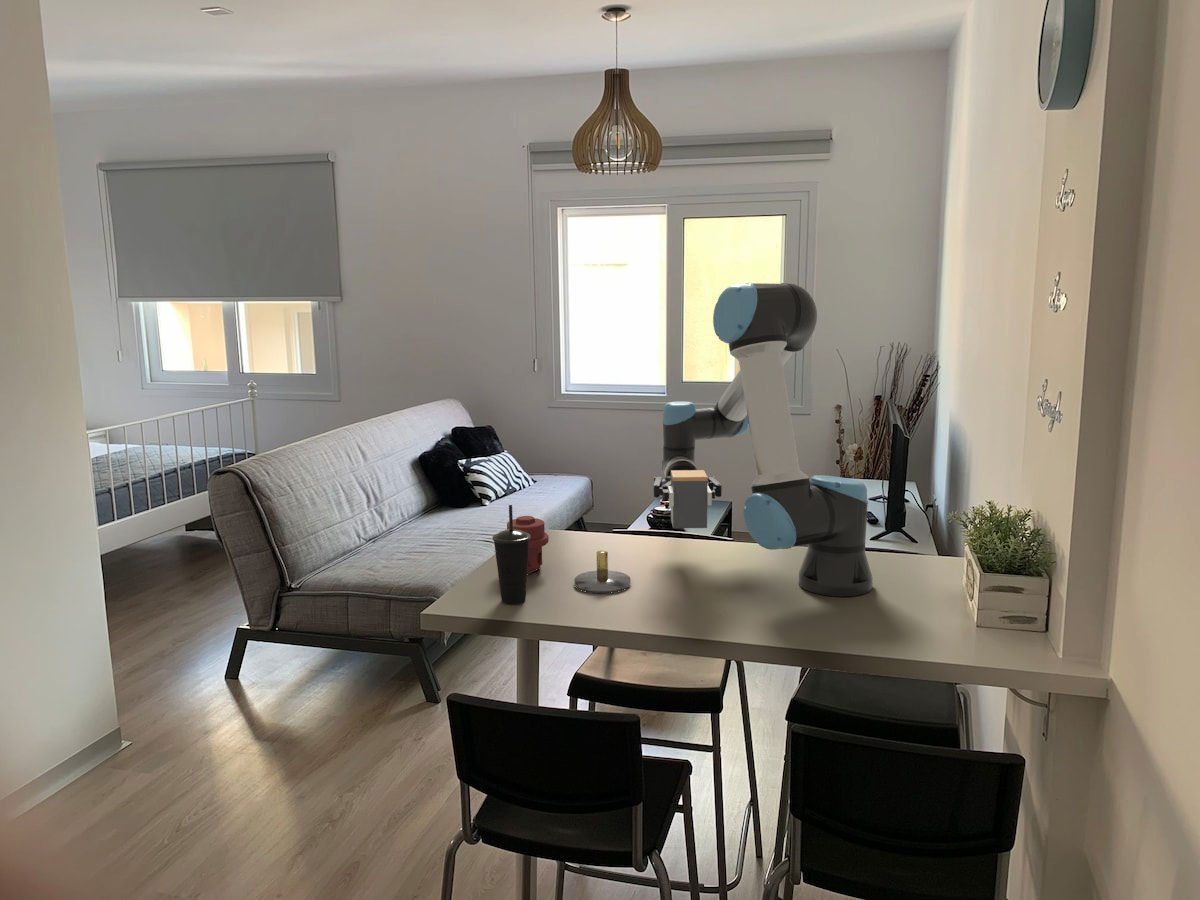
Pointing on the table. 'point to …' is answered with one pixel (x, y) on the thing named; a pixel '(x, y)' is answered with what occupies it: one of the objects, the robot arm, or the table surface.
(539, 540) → the mechanical component
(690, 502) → the sleeve
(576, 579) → the post base
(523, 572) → the drinking cup
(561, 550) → the table surface
